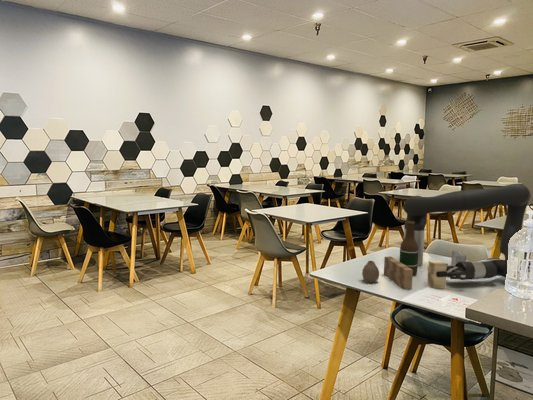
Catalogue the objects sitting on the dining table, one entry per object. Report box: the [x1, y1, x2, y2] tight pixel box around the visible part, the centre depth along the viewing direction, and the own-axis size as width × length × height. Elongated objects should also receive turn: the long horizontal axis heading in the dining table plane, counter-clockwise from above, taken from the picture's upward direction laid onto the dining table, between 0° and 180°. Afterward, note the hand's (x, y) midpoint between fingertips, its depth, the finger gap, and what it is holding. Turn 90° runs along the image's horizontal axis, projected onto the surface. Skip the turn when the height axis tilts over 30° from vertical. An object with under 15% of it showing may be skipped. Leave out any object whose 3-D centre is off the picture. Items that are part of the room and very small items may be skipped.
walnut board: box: [383, 256, 413, 290], centre depth 173 cm, size 20×3×8 cm, turn 8°
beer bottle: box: [398, 221, 418, 277], centre depth 182 cm, size 8×8×24 cm
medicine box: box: [450, 250, 467, 266], centre depth 187 cm, size 8×4×9 cm, turn 168°
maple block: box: [426, 260, 448, 289], centre depth 167 cm, size 5×5×10 cm
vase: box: [361, 260, 380, 284], centre depth 172 cm, size 7×7×9 cm
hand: (432, 271), depth 167 cm, fingers open, 6 cm apart
